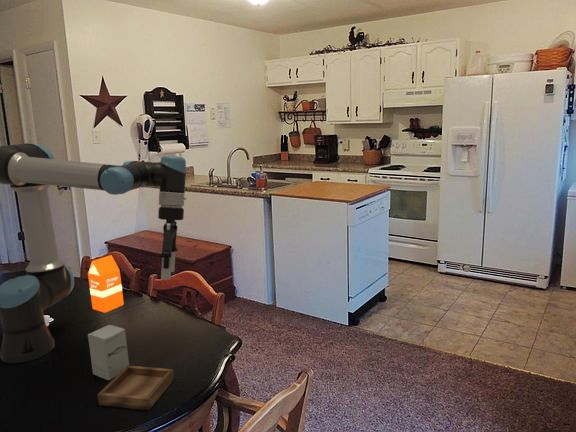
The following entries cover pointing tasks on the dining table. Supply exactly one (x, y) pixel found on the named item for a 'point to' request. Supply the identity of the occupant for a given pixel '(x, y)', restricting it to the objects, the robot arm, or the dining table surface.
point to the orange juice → (105, 284)
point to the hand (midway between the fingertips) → (168, 275)
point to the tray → (136, 387)
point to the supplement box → (108, 351)
